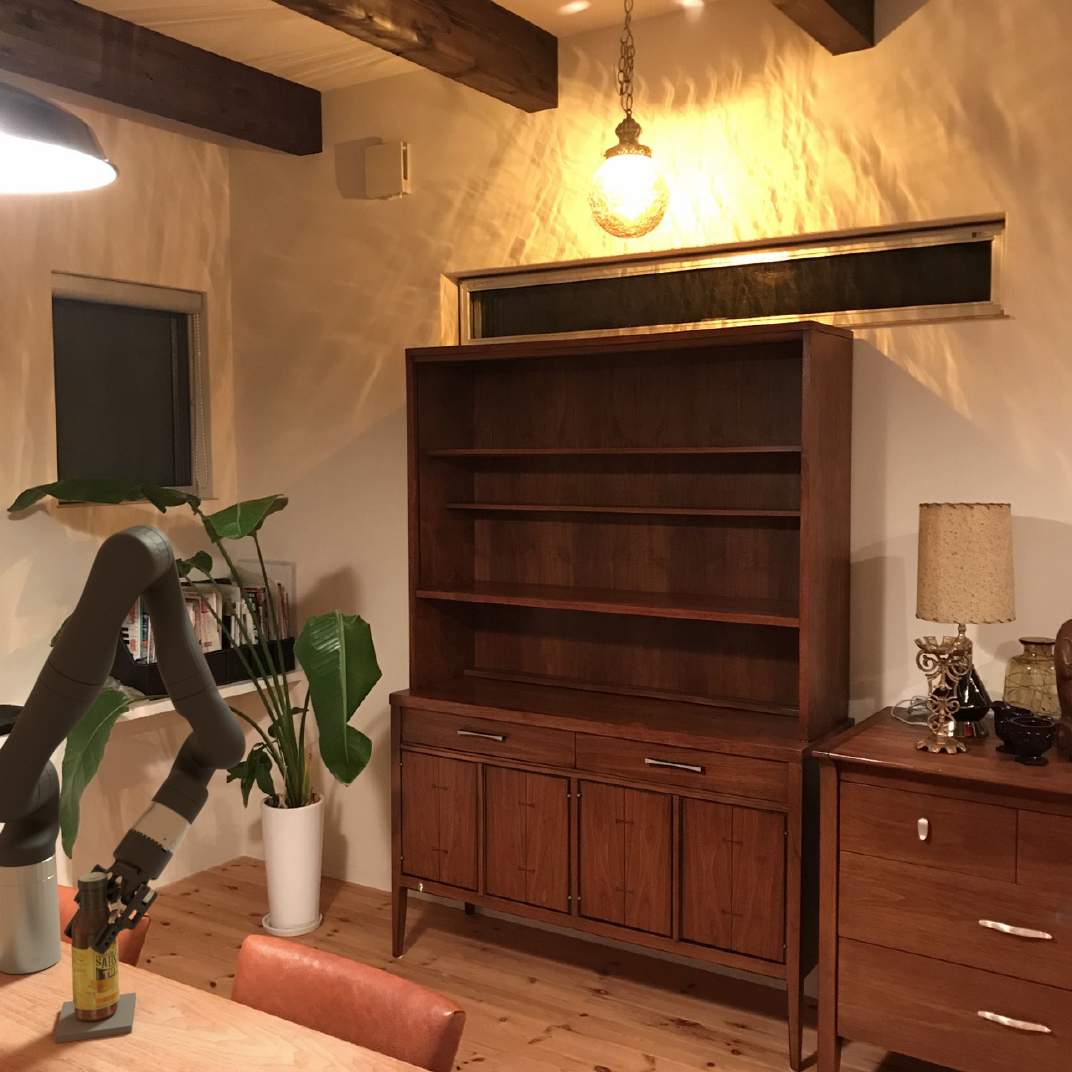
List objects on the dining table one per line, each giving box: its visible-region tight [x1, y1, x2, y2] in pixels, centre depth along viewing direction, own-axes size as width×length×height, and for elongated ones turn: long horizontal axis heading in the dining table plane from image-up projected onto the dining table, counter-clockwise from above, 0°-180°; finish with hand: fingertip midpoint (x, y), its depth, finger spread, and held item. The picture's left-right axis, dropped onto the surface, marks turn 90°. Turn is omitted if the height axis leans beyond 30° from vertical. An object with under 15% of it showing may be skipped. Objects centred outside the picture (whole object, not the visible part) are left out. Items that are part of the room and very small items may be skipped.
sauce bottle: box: [70, 872, 121, 1021], centre depth 165 cm, size 7×6×20 cm
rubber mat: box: [54, 992, 137, 1044], centre depth 166 cm, size 10×10×1 cm
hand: (82, 944), depth 164 cm, fingers open, 6 cm apart
